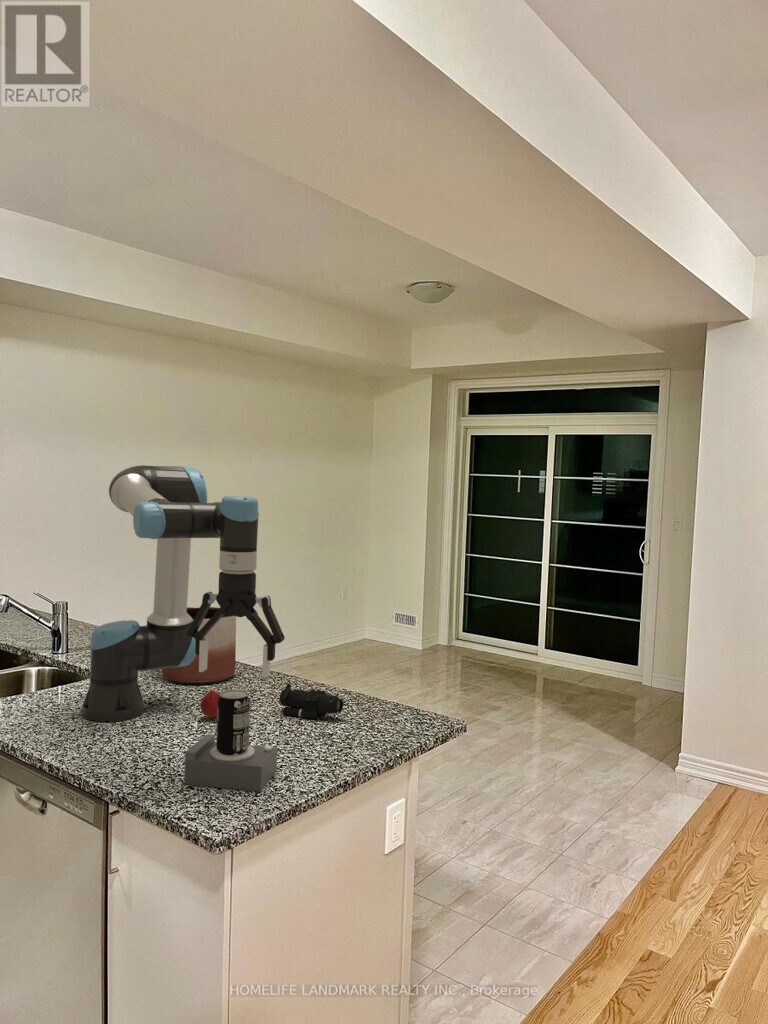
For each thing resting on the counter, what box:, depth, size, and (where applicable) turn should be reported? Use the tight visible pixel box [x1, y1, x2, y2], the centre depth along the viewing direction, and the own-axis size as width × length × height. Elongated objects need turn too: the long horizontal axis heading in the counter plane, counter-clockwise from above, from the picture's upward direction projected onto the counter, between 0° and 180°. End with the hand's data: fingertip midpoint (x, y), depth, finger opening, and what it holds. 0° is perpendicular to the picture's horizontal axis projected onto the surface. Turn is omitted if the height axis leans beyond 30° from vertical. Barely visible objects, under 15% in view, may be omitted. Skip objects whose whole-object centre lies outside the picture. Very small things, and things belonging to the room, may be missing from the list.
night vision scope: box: [279, 683, 344, 721], centre depth 198 cm, size 8×18×10 cm
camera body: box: [184, 734, 278, 792], centre depth 156 cm, size 16×11×6 cm
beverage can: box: [216, 689, 251, 755], centre depth 156 cm, size 7×7×12 cm
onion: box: [199, 687, 220, 720], centre depth 193 cm, size 6×6×8 cm
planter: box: [161, 606, 237, 685], centre depth 234 cm, size 22×22×20 cm
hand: (234, 673), depth 156 cm, fingers open, 13 cm apart
